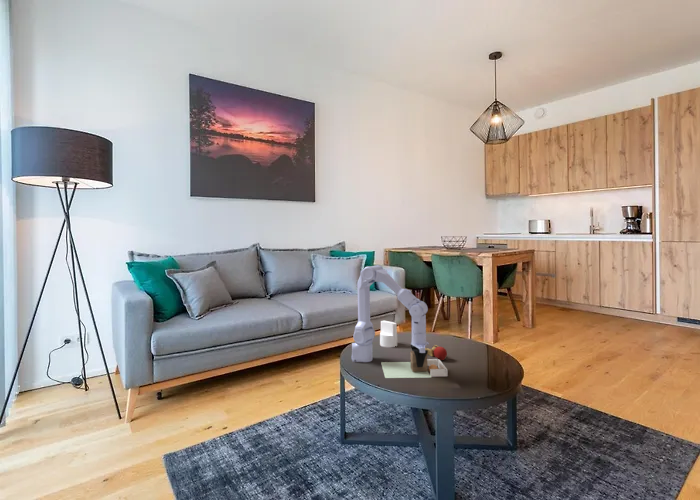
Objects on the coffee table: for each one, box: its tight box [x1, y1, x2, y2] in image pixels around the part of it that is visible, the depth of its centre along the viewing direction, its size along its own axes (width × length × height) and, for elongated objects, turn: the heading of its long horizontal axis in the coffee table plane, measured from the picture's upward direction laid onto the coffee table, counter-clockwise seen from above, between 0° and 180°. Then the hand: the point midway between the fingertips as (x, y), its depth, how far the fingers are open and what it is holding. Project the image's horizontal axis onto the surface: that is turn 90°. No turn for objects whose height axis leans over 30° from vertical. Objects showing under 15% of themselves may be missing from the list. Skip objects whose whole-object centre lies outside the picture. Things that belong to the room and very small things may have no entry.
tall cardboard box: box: [409, 350, 428, 372], centre depth 138 cm, size 6×4×7 cm, turn 91°
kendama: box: [425, 344, 448, 361], centre depth 159 cm, size 8×6×18 cm
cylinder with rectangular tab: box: [379, 320, 398, 348], centre depth 178 cm, size 9×9×12 cm
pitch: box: [380, 358, 449, 379], centre depth 139 cm, size 24×17×4 cm
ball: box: [427, 364, 439, 373], centre depth 138 cm, size 4×4×4 cm
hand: (418, 364), depth 138 cm, fingers closed on tall cardboard box, 4 cm apart
